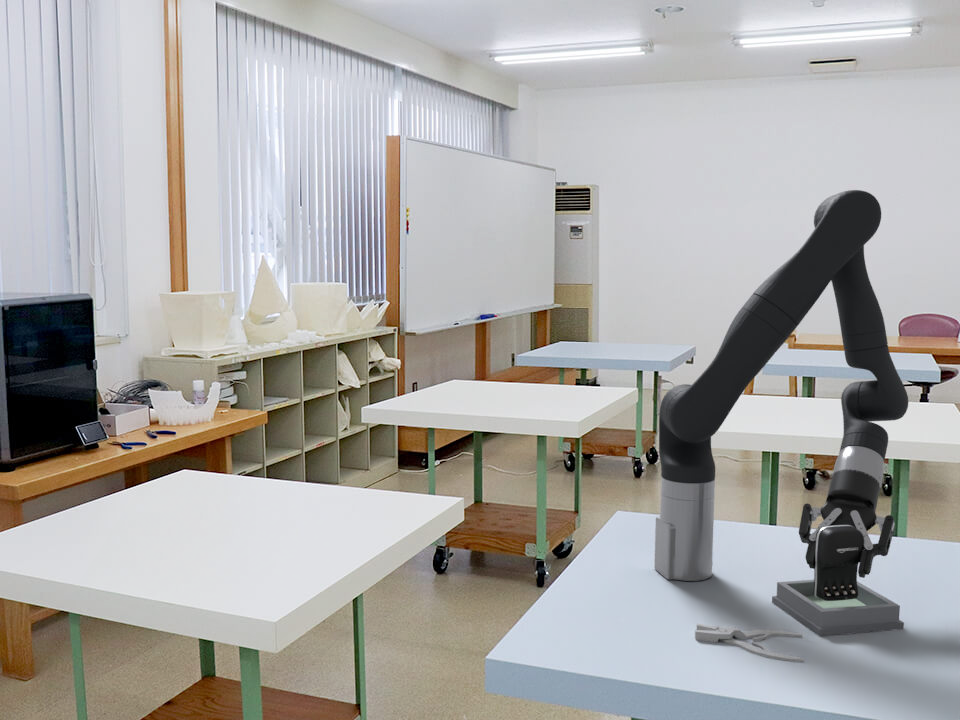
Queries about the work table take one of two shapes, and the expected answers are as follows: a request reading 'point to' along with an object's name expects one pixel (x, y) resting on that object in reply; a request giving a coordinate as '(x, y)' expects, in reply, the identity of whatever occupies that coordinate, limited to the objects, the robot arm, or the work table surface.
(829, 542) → the battery charger
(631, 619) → the work table surface
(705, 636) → the pliers
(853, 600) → the tray
